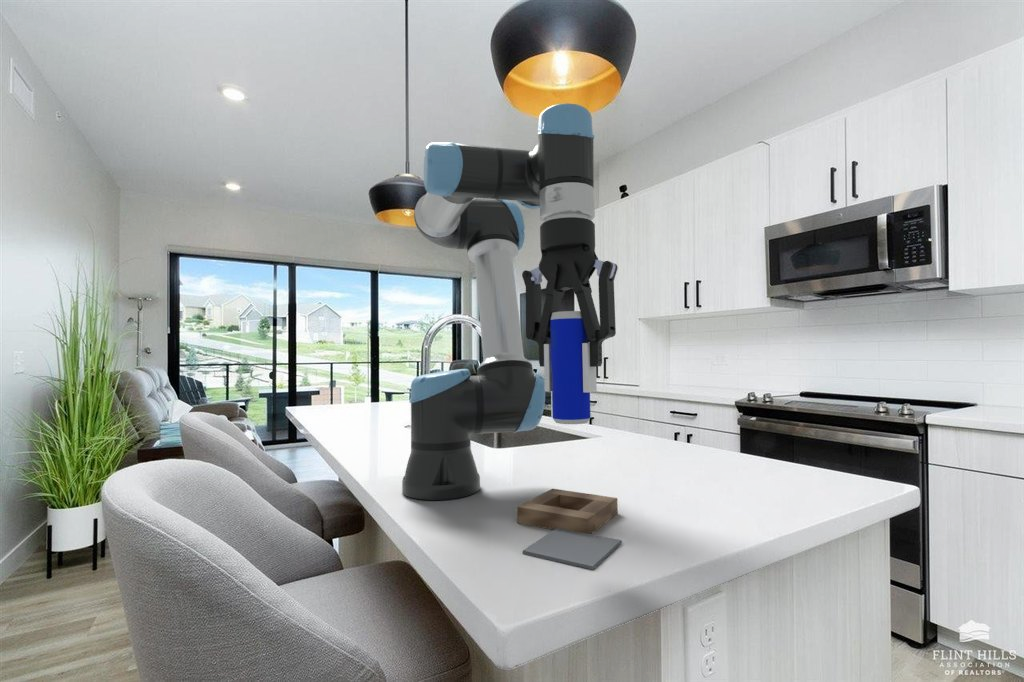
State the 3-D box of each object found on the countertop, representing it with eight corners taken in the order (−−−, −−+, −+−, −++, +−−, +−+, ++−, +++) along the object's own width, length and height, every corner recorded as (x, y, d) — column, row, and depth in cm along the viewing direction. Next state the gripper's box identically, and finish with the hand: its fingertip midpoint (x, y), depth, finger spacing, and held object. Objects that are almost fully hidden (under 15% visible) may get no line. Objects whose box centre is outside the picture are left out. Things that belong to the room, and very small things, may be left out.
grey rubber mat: (522, 553, 67) (522, 550, 67) (557, 530, 75) (557, 527, 75) (592, 569, 61) (592, 566, 61) (621, 542, 70) (621, 539, 70)
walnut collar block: (517, 522, 79) (517, 506, 79) (552, 502, 89) (552, 488, 89) (588, 536, 72) (587, 518, 72) (617, 513, 83) (617, 498, 83)
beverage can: (568, 418, 72) (566, 314, 73) (598, 421, 69) (595, 311, 69) (544, 422, 69) (542, 313, 69) (574, 425, 65) (572, 310, 65)
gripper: (497, 226, 71) (500, 391, 70) (620, 204, 61) (624, 395, 61) (524, 236, 77) (527, 387, 77) (640, 217, 68) (644, 390, 67)
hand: (570, 390), depth 69 cm, fingers closed on beverage can, 5 cm apart
